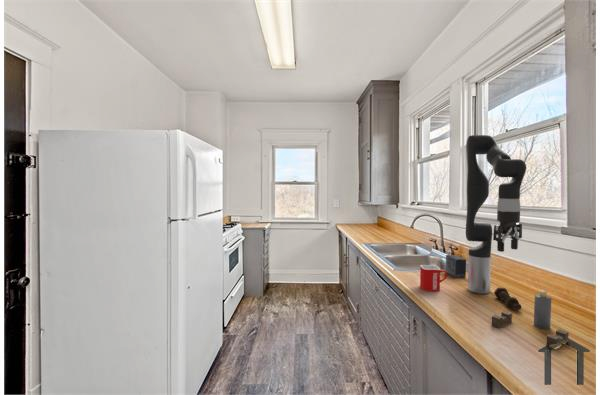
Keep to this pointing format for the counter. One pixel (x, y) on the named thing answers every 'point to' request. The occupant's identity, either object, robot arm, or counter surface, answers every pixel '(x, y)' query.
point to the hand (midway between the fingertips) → (507, 250)
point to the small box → (456, 266)
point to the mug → (431, 277)
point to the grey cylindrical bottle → (542, 311)
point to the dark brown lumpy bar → (507, 298)
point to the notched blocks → (506, 319)
